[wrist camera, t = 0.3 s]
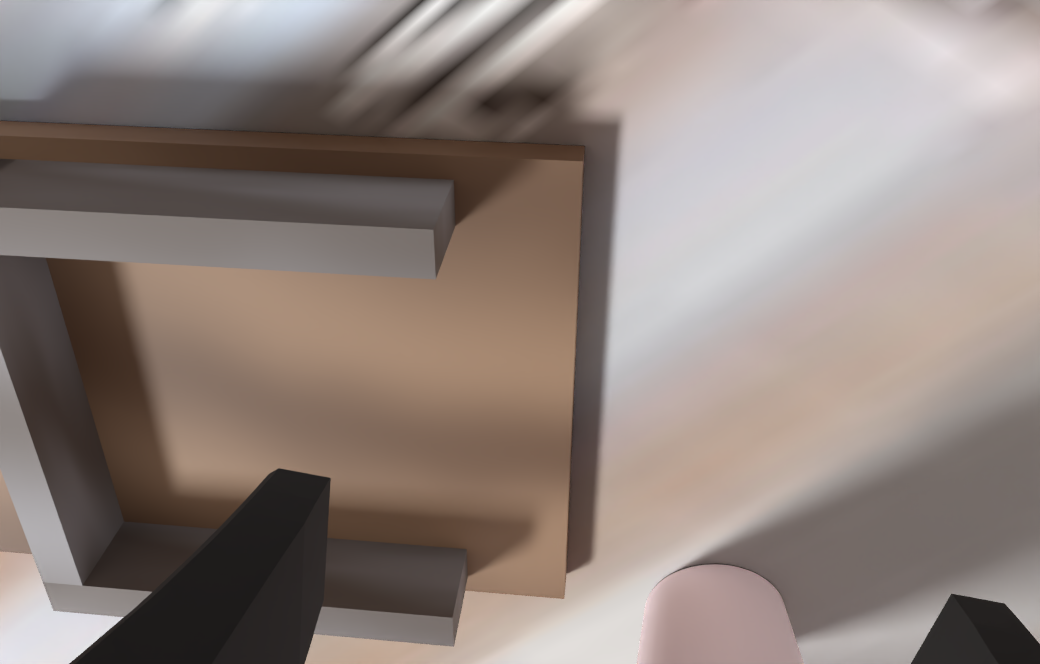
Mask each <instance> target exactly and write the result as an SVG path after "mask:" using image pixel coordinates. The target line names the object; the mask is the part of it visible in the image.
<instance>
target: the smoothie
mask: <svg viewBox="0 0 1040 664" xmlns="http://www.w3.org/2000/svg"><path fill="white" fill-rule="evenodd" d="M637 664H804V662H803V659H802V656H801V653H800V650H799V647H798V644H797V641H796V638H795V635H794V632H793V629H792V626H791V623H790V620H789V617H788V614H787V611H786V608H785V605H784V602H783V600H782V597H781V595H780V594H779V592H778V591H777V590H776V588H775V587H774V586H773V585H772V584H771V583H770V582H768V581H767V580H766V579H764V578H763V577H761V576H760V575H758V574H756V573H754V572H751V571H749V570H746V569H743V568H739V567H735V566H730V565H720V564H708V565H699V566H693V567H689V568H686V569H682V570H680V571H677V572H675V573H673V574H671V575H669V576H668V577H666V578H664V579H663V580H662V581H660V582H659V583H658V584H657V585H656V586H655V587H654V588H653V590H652V591H651V593H650V594H649V596H648V598H647V601H646V605H645V610H644V617H643V624H642V631H641V637H640V644H639V651H638V657H637Z"/></svg>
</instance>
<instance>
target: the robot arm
mask: <svg viewBox="0 0 1040 664" xmlns="http://www.w3.org/2000/svg"><path fill="white" fill-rule="evenodd" d="M330 481H331V478H329V477H324V476H318V475H313V474H308V473H302V472H297V471H291V470H286V469H281V468H278V469H276V470H275V471H273V472H271V473H270V474H268V475H267V477H266V478H265V479H264V480H263V481H262V482H261V483H260V484H259V486H258V487H257V488H256V489H255V490H254V491H253V492H252V493H251V494H250V495H249V497H248V498H247V499H246V500H245V501H244V502H243V503H242V504H241V505H240V506H239V507H238V508H237V509H236V510H235V512H234V513H233V514H232V515H231V516H230V517H229V518H228V519H227V520H226V521H225V522H224V523H223V524H222V525H221V526H220V527H219V528H218V529H217V530H216V531H215V532H214V533H213V534H212V535H211V536H210V537H209V538H208V539H207V540H206V541H205V542H204V543H203V544H202V545H201V546H200V547H199V548H198V549H197V550H196V551H195V552H194V553H193V554H192V555H191V556H190V557H189V558H188V559H187V560H186V561H185V562H184V563H183V564H181V565H180V566H179V567H178V568H177V569H176V570H175V571H174V572H173V573H172V574H171V575H170V576H169V577H168V578H167V579H166V580H165V581H163V582H162V583H161V584H160V585H159V586H158V587H157V588H156V589H155V590H154V591H153V592H152V593H151V594H150V595H149V596H148V597H146V598H145V599H144V600H143V601H142V602H141V603H140V604H139V605H138V606H136V607H135V608H134V609H133V610H132V611H131V612H130V613H128V614H127V615H126V616H125V617H124V618H123V619H121V620H120V621H119V622H118V623H117V624H116V625H114V626H113V627H112V628H111V629H110V630H109V631H107V632H106V633H105V634H104V635H103V636H102V637H100V638H99V639H98V640H97V641H96V642H94V643H93V644H92V645H91V646H90V647H89V648H87V649H86V650H85V651H84V652H83V653H82V654H80V655H79V656H78V657H77V658H76V659H74V660H73V661H72V662H71V663H70V664H305V660H306V657H307V654H308V651H309V648H310V644H311V641H312V638H313V634H314V631H315V628H316V624H317V621H318V617H319V614H320V611H321V607H322V604H323V601H324V588H325V570H326V552H327V534H328V517H329V499H330ZM911 664H1040V644H1039V643H1038V641H1037V640H1036V639H1035V638H1034V637H1033V636H1032V634H1031V633H1030V632H1029V631H1028V630H1027V629H1026V627H1025V626H1024V625H1023V624H1022V623H1021V622H1020V620H1019V619H1018V618H1017V617H1016V616H1015V615H1014V614H1013V612H1012V611H1011V610H1010V609H1009V608H1008V607H1007V606H1006V605H1005V604H1004V603H998V602H993V601H988V600H982V599H977V598H972V597H966V596H961V595H956V594H951V596H950V597H949V599H948V601H947V603H946V604H945V606H944V608H943V609H942V611H941V613H940V615H939V616H938V618H937V620H936V621H935V623H934V625H933V627H932V628H931V630H930V632H929V634H928V635H927V637H926V639H925V640H924V642H923V644H922V646H921V647H920V649H919V651H918V652H917V654H916V656H915V658H914V659H913V661H912V663H911Z"/></svg>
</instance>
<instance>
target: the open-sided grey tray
mask: <svg viewBox="0 0 1040 664" xmlns="http://www.w3.org/2000/svg"><path fill="white" fill-rule="evenodd" d="M584 154H585V146H573V145H550V144H527V143H504V142H480V141H457V140H434V139H411V138H388V137H365V136H342V135H318V134H295V133H272V132H249V131H226V130H203V129H180V128H157V127H133V126H110V125H87V124H64V123H41V122H18V121H0V551H3V552H15V553H26V554H32V555H33V557H34V560H35V563H36V565H37V568H38V571H39V573H40V576H41V578H42V581H43V584H44V586H45V589H46V592H47V594H48V597H49V600H50V602H51V605H52V608H53V610H54V611H63V612H74V613H85V614H96V615H107V616H118V617H125V616H126V615H127V614H128V613H130V612H131V611H132V610H133V609H134V608H135V607H136V606H138V605H139V604H140V603H141V602H142V601H143V600H144V599H145V598H146V597H148V596H149V595H150V594H151V593H152V592H153V591H154V590H155V589H156V588H157V587H158V586H159V585H160V584H161V583H162V582H163V581H165V580H166V579H167V578H168V577H169V576H170V575H171V574H172V573H173V572H174V571H175V570H176V569H177V568H178V567H179V566H180V565H181V564H183V563H184V562H185V561H186V560H187V559H188V558H189V557H190V556H191V555H192V554H193V553H194V552H195V551H196V550H197V549H198V548H199V547H200V546H201V545H202V544H203V543H204V542H205V541H206V540H207V539H208V538H209V537H210V536H211V535H212V534H213V533H214V532H215V531H216V530H217V529H218V528H219V527H220V526H221V525H222V524H223V523H224V522H225V521H226V520H227V519H228V518H229V517H230V516H231V515H232V514H233V513H234V512H235V510H236V509H237V508H238V507H239V506H240V505H241V504H242V503H243V502H244V501H245V500H246V499H247V498H248V497H249V495H250V494H251V493H252V492H253V491H254V490H255V489H256V488H257V487H258V486H259V484H260V483H261V482H262V481H263V480H264V479H265V478H266V477H267V475H268V474H270V473H271V472H273V471H275V470H276V469H278V468H281V469H286V470H291V471H297V472H302V473H308V474H313V475H318V476H324V477H329V478H331V481H330V499H329V517H328V534H327V552H326V570H325V588H324V601H323V604H322V607H321V611H320V614H319V617H318V621H317V624H316V628H315V631H314V634H320V635H331V636H342V637H353V638H364V639H375V640H387V641H398V642H409V643H420V644H431V645H443V646H454V643H455V638H456V633H457V628H458V623H459V618H460V613H461V608H462V603H463V598H464V593H465V590H466V591H477V592H489V593H501V594H513V595H525V596H537V597H549V598H560V599H564V595H565V583H566V567H567V544H568V521H569V498H570V475H571V452H572V429H573V406H574V383H575V361H576V338H577V315H578V292H579V269H580V246H581V223H582V200H583V177H584Z"/></svg>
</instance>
